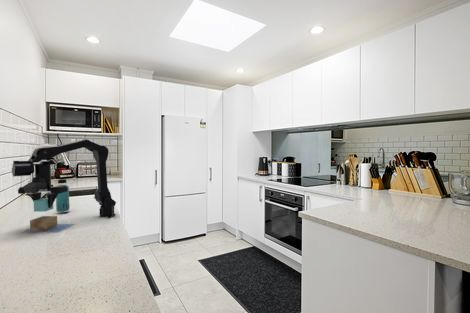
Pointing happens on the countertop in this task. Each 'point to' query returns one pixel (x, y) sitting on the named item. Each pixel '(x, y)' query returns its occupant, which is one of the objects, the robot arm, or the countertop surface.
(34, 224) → the walnut base block
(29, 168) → the robot arm
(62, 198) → the beverage bottle
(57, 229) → the blue flat board
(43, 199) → the teal cube
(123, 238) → the countertop surface
